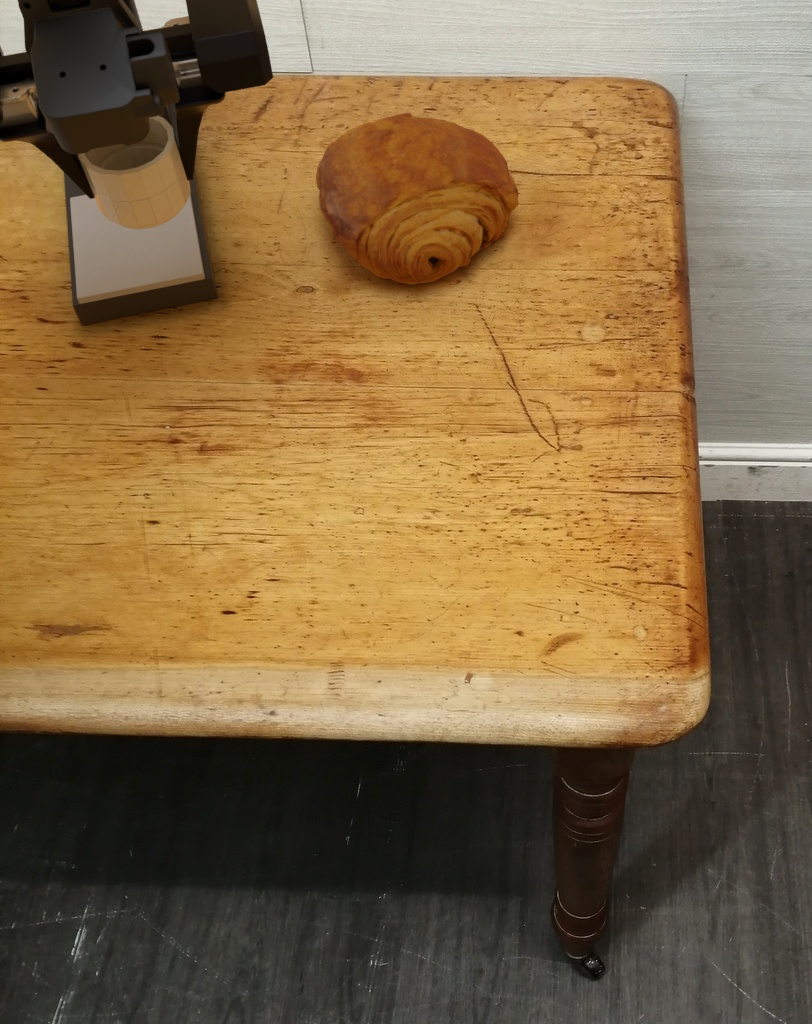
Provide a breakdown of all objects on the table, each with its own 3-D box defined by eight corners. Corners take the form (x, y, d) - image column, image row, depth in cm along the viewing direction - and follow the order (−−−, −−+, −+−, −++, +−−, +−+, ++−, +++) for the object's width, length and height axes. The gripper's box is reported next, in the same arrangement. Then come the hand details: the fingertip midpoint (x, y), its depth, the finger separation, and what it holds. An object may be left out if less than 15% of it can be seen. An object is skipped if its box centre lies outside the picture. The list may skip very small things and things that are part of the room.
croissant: (348, 325, 73) (337, 255, 66) (307, 169, 79) (292, 90, 72) (536, 282, 74) (545, 208, 67) (480, 131, 80) (483, 49, 73)
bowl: (104, 241, 61) (79, 182, 57) (99, 181, 64) (76, 121, 60) (196, 223, 62) (178, 163, 58) (187, 164, 65) (169, 104, 61)
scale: (81, 325, 71) (56, 271, 67) (66, 110, 85) (44, 54, 81) (218, 298, 72) (202, 243, 68) (180, 89, 86) (165, 32, 82)
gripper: (-151, 57, 44) (-9, 304, 57) (260, -14, 45) (307, 244, 59) (-132, -69, 50) (-7, 181, 63) (231, -129, 51) (279, 128, 65)
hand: (141, 185), depth 62 cm, fingers closed on bowl, 6 cm apart
